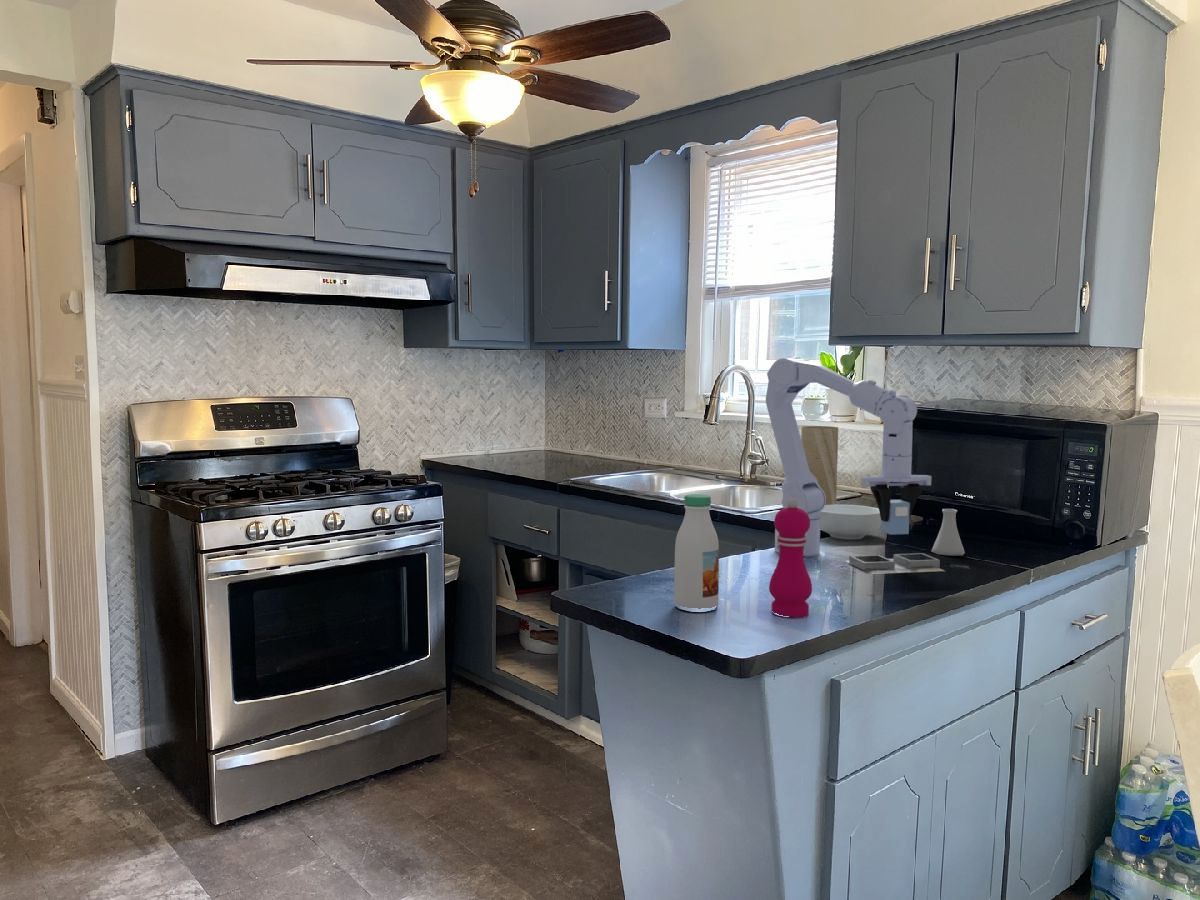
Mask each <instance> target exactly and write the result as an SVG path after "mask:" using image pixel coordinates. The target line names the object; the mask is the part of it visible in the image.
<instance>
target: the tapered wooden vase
mask: <svg viewBox="0 0 1200 900" xmlns="http://www.w3.org/2000/svg"><path fill="white" fill-rule="evenodd" d="M800 437H801V441H802V444H803V448H804V452H805V456H806V459H807V463H808V467H809V471H810V472H811V473H812V474H813V475H814V476H815V477H816V478H817V481H818V484H819V486H820V488H821V489H822V490H823V491H824V493H825V496H826V504H825V505H837V493H838V492H837V487H838V486H837V485H838V459H839V458H838V456H839V455H838V453H839V452H838V450H839V427H838V426H827V425H826V426H825V425H824V426H823V425H804V426H801V434H800Z"/></svg>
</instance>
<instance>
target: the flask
mask: <svg viewBox="0 0 1200 900" xmlns="http://www.w3.org/2000/svg"><path fill="white" fill-rule="evenodd" d="M941 512H942V514H943V515H942V516H943V517H942V523H941V526H940V529H939V531H938V534H937V537H936V539H935V541H934V543H933V546H932V548H931V552H932V553H934V554H937V555H940V556H941V555H942V556H949V557H950V556H951V557H952V556H953V557H956V556H964V554H965V553H966V551H965V549H964V546H963V542H962V540H961V538H960V534H959V531H958V527H957V521H956V520H957V518H956V515H957V513H958V510H957V509H954V508H942V510H941Z"/></svg>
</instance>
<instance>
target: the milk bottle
mask: <svg viewBox="0 0 1200 900" xmlns="http://www.w3.org/2000/svg"><path fill="white" fill-rule="evenodd" d="M683 503H684V506H683V507H684V509H685V513H684V517H683V520H682V523H681V525H680V527H679V529H678V532H677V535H676V536H675V545H674V580H673V581H674V584H673V586H674V589H673V590H674V595H673V597H674V598H673V601H674V602H675V603H676V604H677V605H679V606H682V607H687V608H698V609H701V608H712V607H715V606H717V605H718V606H719V587H720V585H719V580H720V577H719V576H720V573H719V571H720V561H719V560H720V548H719V547H720V545H719V537H718V535H717V532H716V529H715V526H714V525H713V521H712V518H711V515H710V509H711V504H712V498H711V495H708V494H703V493H692V494H691V493H690V494H685V495H684V498H683Z"/></svg>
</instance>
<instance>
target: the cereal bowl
mask: <svg viewBox="0 0 1200 900" xmlns="http://www.w3.org/2000/svg"><path fill="white" fill-rule="evenodd" d="M820 515H821V517H820V531H822V532H824V533H827V534H829V537H832V538H834V539H839V540H849V541H850V540H852V541H853V540H861V539H863V538H864V537H865V536H868V535H870V534H871V535H872V534H873V533H876V532H877V531H878V530H879V529H880V528H881V521H882V520H881V517H880V512H879V508H878V507H874V506H873V507H872V506H867V505H856V504H836V505H825V506H824V508H823V509H822V510H821V511H820Z"/></svg>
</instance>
